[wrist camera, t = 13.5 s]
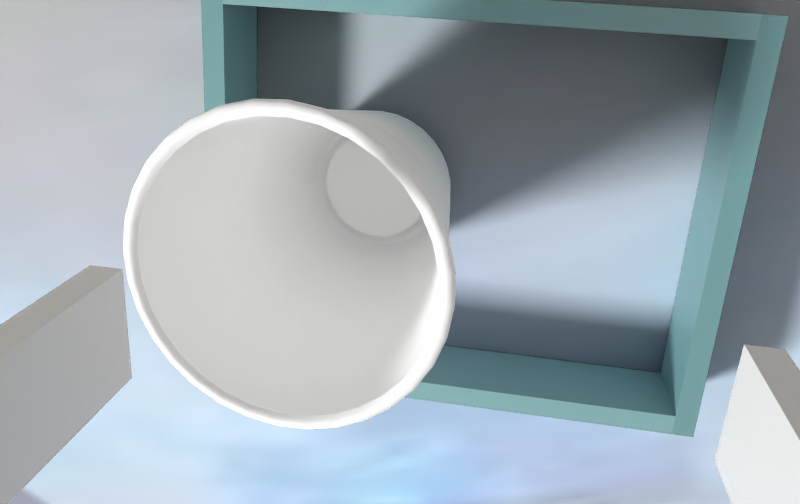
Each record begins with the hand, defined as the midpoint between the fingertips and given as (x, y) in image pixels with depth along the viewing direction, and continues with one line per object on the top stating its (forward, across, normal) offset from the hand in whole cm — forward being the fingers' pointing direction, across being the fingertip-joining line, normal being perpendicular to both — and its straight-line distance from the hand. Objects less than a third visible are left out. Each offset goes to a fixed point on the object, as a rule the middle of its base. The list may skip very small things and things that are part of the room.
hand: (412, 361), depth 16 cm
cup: (+16, -4, -1) cm, 16 cm away
